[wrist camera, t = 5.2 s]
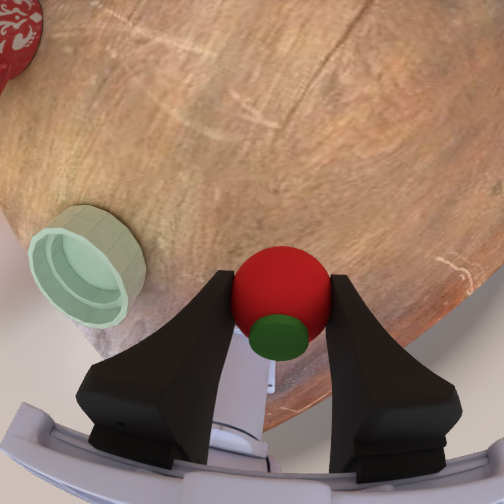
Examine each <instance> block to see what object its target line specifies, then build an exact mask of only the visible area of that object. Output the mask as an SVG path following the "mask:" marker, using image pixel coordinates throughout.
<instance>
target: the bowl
mask: <svg viewBox="0 0 504 504" xmlns="http://www.w3.org/2000/svg"><path fill="white" fill-rule="evenodd" d="M28 258H29V265H30V270H31V273H32V275H33V277H34V279H35V282H36V284H37V286H38V287H39V289H40V290H41V292H42V293H43V294H44V295H45V297H46V298H47V299H48V301H49V302H50V303H51V304H52V305H53V306H54V307H55V308H57V309H58V310H59V311H60V312H62V313H63V314H64V315H65V316H67V317H68V318H70V319H72V320H74V321H76V322H78V323H80V324H82V325H84V326H88V327H93V328H99V329H105V328H109V327H113V326H117V325H118V324H119V323H120V322H121V321H122V320H123V319H124V317H125V316H126V315H127V314H128V312H129V310H130V308H131V307H132V305H133V303H134V301H135V299H136V298H137V296H138V294H139V293H140V291H141V289H142V288H143V286H144V282H145V276H146V270H147V268H146V265H145V261H144V257H143V253H142V249H141V247H140V245H139V244H138V242H137V241H136V239H135V238H134V236H133V235H132V233H131V232H130V230H129V229H128V228H127V227H126V226H125V225H124V224H122V223H121V222H120V221H119V220H118V219H116V218H115V217H114V216H113V215H112V214H110V213H109V212H107V211H104V210H102V209H99V208H96V207H94V206H91V205H76V206H70V207H68V208H67V209H65V210H64V211H62V212H61V213H60V214H58V215H57V216H56V217H55V218H53V219H52V220H51V221H50V222H49V223H48V224H47V225H45V226H44V227H43V228H42V229H41V230H40V231H38V232H37V233H36V234H35V235H34V236H33V237H32V240H31V243H30V246H29V249H28Z"/></svg>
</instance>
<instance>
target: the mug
mask: <svg viewBox="0 0 504 504" xmlns="http://www.w3.org/2000/svg"><path fill="white" fill-rule="evenodd" d="M41 32H42V10H41V6H40V4H39V2H38V1H37V0H0V95H1V93H2V91H3V89H4V88H5V86H6V84H7V82H8V80H10V79H13V78H15V77H16V76H18V75H19V74H20V73H22V72H23V70H24V69H25V68H26V67H27V66H28V64H29V63H30V61H31V60H32V58H33V56H34V54H35V52H36V49H37V47H38V44H39V40H40V37H41Z"/></svg>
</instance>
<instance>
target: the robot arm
mask: <svg viewBox="0 0 504 504" xmlns="http://www.w3.org/2000/svg"><path fill="white" fill-rule="evenodd" d="M233 279H234V271H226V270H219V271H217V272H216V273H215V275H214V276H213V277H212V278H211V279H210V280H209V282H208V283H207V284H206V285H205V286H204V287H203V288H202V290H201V291H200V292H199V293H198V294H197V295H196V296H195V297H194V298H193V299H192V300H191V301H190V302H189V303H188V304H187V305H186V306H185V307H184V308H183V309H182V310H181V311H180V312H179V313H178V314H177V315H176V316H175V317H174V318H172V319H171V320H170V321H169V322H168V323H167V324H165V325H164V326H163V327H161V328H160V329H159V330H157V331H156V332H155V333H153V334H152V335H150V336H149V337H147V338H145V339H144V340H142V341H141V342H139V343H138V344H136V345H134V346H132V347H131V348H129V349H127V350H125V351H123V352H121V353H119V354H117V355H115V356H113V357H111V358H108V359H106V360H104V361H101V362H99V363H96V364H94V365H92V366H91V367H90V369H89V370H88V372H87V374H86V376H85V378H84V380H83V382H82V384H81V386H80V388H79V390H78V392H77V394H76V399H77V403H78V404H79V406H80V407H81V408H82V410H83V411H84V412H85V413H86V415H87V416H88V417H89V418H90V419H91V421H92V422H93V423H94V424H95V425H94V427H93V429H92V432H91V434H90V436H89V435H86V434H83V433H80V432H78V431H75V430H72V429H70V428H67V427H65V426H62V425H60V424H57V423H55V422H54V420H53V419H52V418H51V417H50V416H49V415H48V414H47V413H45V412H44V411H42V410H41V409H38V408H36V407H34V406H32V405H29V404H27V403H25V402H23V403H22V404H21V406H20V408H19V409H18V411H17V413H16V415H15V417H14V419H13V421H12V423H11V424H10V426H9V429H8V430H7V432H6V434H5V437H4V438H3V440H2V442H1V444H0V450H1V451H2V452H3V453H5V454H6V455H7V456H9V457H10V458H11V459H13V460H14V461H15V462H17V463H18V464H19V465H21V466H22V467H24V468H25V469H26V470H28V471H29V472H31V473H32V474H34V475H36V476H38V477H39V478H41V479H43V480H44V481H46V482H48V483H50V484H52V485H54V486H56V487H58V488H60V489H62V490H64V491H66V492H68V493H70V494H72V495H74V496H76V497H78V498H80V499H83V500H85V501H87V502H89V503H92V504H504V438H502V439H499V440H498V441H496V442H494V443H493V444H492V445H491V446H490V447H489V448H488V449H487V450H484V451H481V452H477V453H473V454H470V455H466V456H462V457H458V458H453V459H449V460H445V454H444V448H443V447H445V446H446V444H447V442H446V437H445V435H446V434H447V433H448V432H449V431H450V430H451V429H452V428H453V426H454V425H455V424H456V423H457V422H458V420H459V419H460V417H461V416H462V412H463V411H462V407H461V403H460V400H459V396H458V394H457V391H456V389H455V386H454V385H452V384H451V383H449V382H448V381H446V380H444V379H442V378H441V377H440V376H438V375H436V374H435V373H433V372H432V371H430V370H429V369H428V368H426V367H425V366H423V365H422V364H421V363H420V362H418V361H417V360H416V359H415V358H413V357H412V356H411V355H410V354H409V353H408V352H407V351H406V350H404V349H403V348H402V347H401V346H400V345H399V344H398V343H397V342H396V341H395V340H394V339H393V338H392V337H391V336H390V335H389V334H388V332H387V331H386V330H385V329H384V328H383V327H382V325H381V324H380V323H379V322H378V320H377V319H376V318H375V317H374V315H373V314H372V313H371V311H370V310H369V308H368V307H367V306H366V304H365V303H364V301H363V300H362V298H361V297H360V295H359V294H358V292H357V291H356V289H355V288H354V286H353V284H352V283H351V281H350V279H349V278H348V276H347V275H334V274H331V277H330V279H331V285H332V306H331V315H330V319H329V321H328V323H327V325H326V340H327V348H328V356H329V363H330V371H331V380H332V435H331V453H330V465H329V474H297V473H282V471H281V468H280V466H279V465H278V463H277V461H276V459H275V458H274V457H273V456H270V455H267V448H268V444H267V443H264V442H261V439H262V431H263V423H264V415H265V406H266V398H267V393H273V392H275V361H273V360H269V359H265V358H263V357H261V356H259V355H258V354H256V353H255V352H254V351H253V350H252V349H251V347H250V344H249V339H248V338H247V337H246V336H245V335H244V334H243V333H242V332H241V330H240V329H239V328H238V326H235V321H234V318H233V316H232V313H231V304H230V302H231V287H232V282H233Z"/></svg>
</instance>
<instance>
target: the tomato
mask: <svg viewBox="0 0 504 504" xmlns="http://www.w3.org/2000/svg"><path fill="white" fill-rule="evenodd" d="M230 304H231V313H232V316H233V318H234V321H235V323H236V324H237V326H238V328H239V329H240V330H241V332H242V333H243V334H244V335H245V336H246V337H247V338H248V339H249V344H250V347H251V349H252V350H253V351H254V352H255V353H256V354H258V355H259V356H261V357H263V358H265V359H269V360H273V361H287V360H291V359H294V358H297V357H299V356H300V355H302V354H303V353H304V352H305V350H306V349H307V347H308V343H309V342H311V341H312V340H313V339H315V338H316V337H317V336H318V335H319V334H320V333H321V332H322V331H323V329H324V328H325V326H326V325H327V323H328V321H329V319H330V315H331V306H332V285H331V279H330V277H329V275H328V273H327V271H326V270H325V268H324V267H323V266H322V264H321V263H320V262H319V261H318V260H317V259H316V258H314V257H313V256H312V255H310V254H308V253H307V252H305V251H303V250H300V249H297V248H293V247H286V246H277V247H271V248H267V249H264V250H262V251H259V252H258V253H256V254H254V255H252V256H251V257H250V258H249V259H247V260H246V261H245V262H244V263H243V264H242V266H241V267H240V268H239V270H238V271H237V273H236V275H235V277H234V279H233V282H232V287H231V302H230Z"/></svg>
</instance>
